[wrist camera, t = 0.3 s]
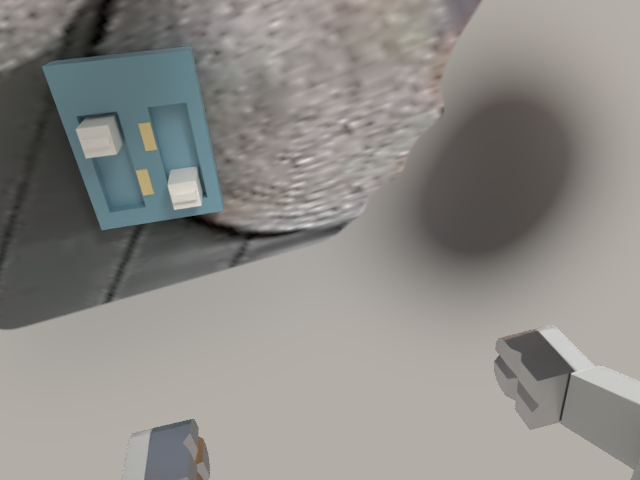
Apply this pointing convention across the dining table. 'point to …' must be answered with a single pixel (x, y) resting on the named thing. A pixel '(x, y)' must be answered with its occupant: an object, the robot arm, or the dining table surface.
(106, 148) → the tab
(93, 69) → the switch bank
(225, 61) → the dining table surface
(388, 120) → the dining table surface
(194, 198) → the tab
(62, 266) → the dining table surface
